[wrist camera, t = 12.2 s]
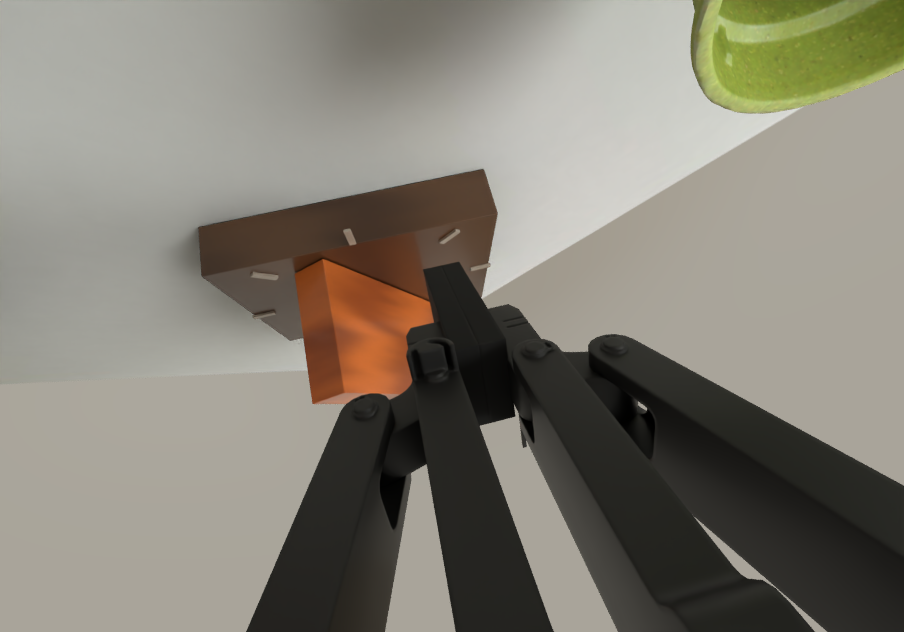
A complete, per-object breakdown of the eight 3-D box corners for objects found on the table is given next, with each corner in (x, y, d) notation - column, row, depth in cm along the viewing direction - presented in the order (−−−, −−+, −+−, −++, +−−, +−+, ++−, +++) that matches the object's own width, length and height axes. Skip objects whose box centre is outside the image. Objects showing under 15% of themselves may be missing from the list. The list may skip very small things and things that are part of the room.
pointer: (293, 273, 24) (312, 409, 22) (322, 257, 23) (345, 397, 21) (409, 311, 35) (430, 406, 32) (431, 302, 34) (455, 398, 32)
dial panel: (291, 313, 37) (295, 348, 36) (177, 211, 22) (180, 266, 21) (473, 273, 38) (482, 305, 37) (488, 148, 23) (504, 198, 22)
